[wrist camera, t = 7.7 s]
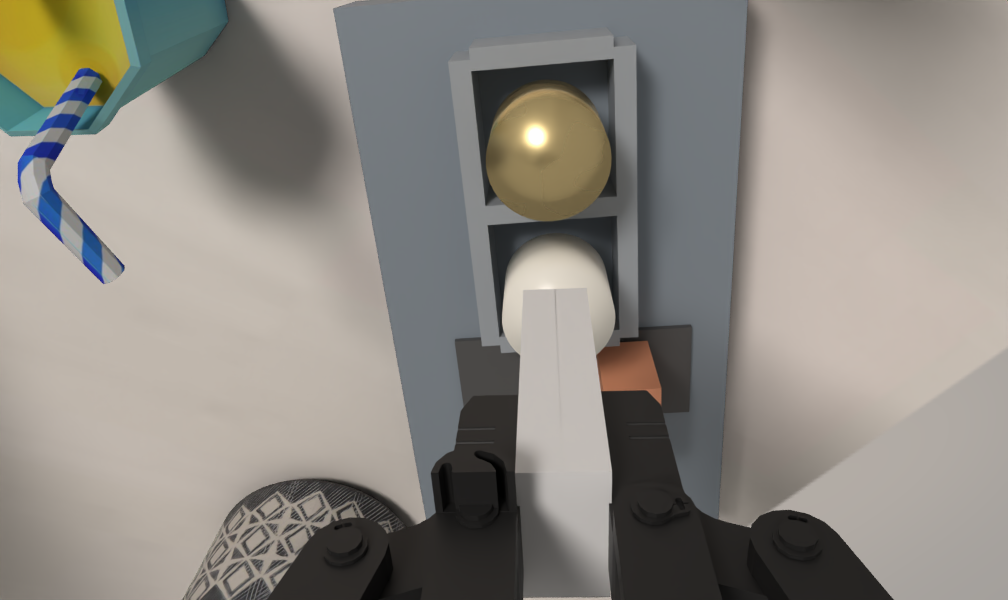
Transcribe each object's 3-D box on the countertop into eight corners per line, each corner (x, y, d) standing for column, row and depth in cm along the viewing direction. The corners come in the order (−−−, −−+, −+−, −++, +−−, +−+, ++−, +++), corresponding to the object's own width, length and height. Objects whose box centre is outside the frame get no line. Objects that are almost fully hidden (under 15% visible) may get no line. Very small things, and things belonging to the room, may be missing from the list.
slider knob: (598, 413, 35) (606, 466, 32) (596, 343, 34) (603, 391, 30) (647, 411, 35) (660, 463, 32) (647, 340, 33) (661, 388, 30)
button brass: (496, 194, 28) (491, 225, 25) (485, 84, 26) (479, 103, 23) (603, 185, 28) (613, 216, 25) (600, 74, 26) (610, 92, 23)
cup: (334, 125, 34) (204, 243, 21) (201, 188, 36) (0, 335, 22) (157, -196, 29) (-176, -319, 15) (9, -103, 30) (-409, -140, 17)
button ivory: (509, 327, 31) (507, 371, 28) (501, 236, 29) (497, 272, 26) (607, 321, 30) (616, 364, 27) (605, 229, 29) (613, 264, 25)
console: (438, 491, 44) (423, 579, 38) (355, 1, 32) (313, 14, 25) (702, 479, 43) (730, 568, 37) (724, -35, 30) (772, -29, 24)
